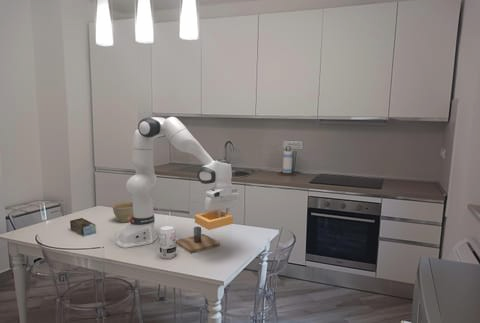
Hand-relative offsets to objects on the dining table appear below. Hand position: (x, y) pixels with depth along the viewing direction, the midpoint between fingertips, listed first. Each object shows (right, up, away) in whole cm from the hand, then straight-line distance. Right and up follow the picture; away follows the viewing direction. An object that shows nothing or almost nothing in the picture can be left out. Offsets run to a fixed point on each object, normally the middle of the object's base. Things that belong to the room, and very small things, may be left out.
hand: (223, 217), depth 178 cm
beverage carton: (-88, -15, +34) cm, 96 cm away
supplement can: (-28, -20, -3) cm, 34 cm away
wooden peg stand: (-15, -17, +13) cm, 26 cm away
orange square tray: (-5, -3, -3) cm, 6 cm away
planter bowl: (-69, -12, +56) cm, 90 cm away
